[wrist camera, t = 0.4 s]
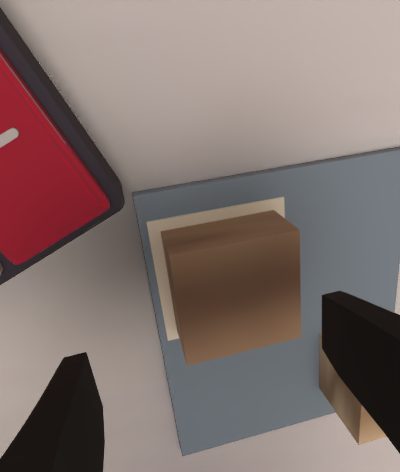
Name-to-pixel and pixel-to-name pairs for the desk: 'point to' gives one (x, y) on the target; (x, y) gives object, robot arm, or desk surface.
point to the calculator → (44, 164)
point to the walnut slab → (234, 284)
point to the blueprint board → (311, 276)
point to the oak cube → (346, 402)
